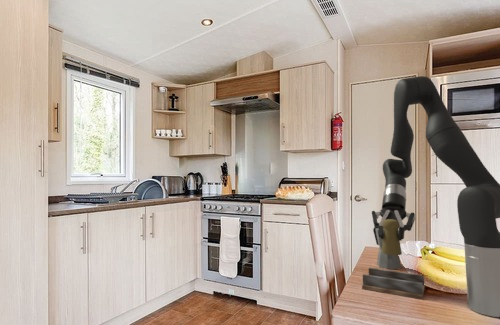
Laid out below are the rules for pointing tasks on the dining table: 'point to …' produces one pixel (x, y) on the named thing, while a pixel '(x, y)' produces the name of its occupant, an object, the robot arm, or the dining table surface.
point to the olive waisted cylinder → (391, 237)
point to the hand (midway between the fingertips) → (390, 238)
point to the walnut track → (394, 283)
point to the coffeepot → (386, 255)
